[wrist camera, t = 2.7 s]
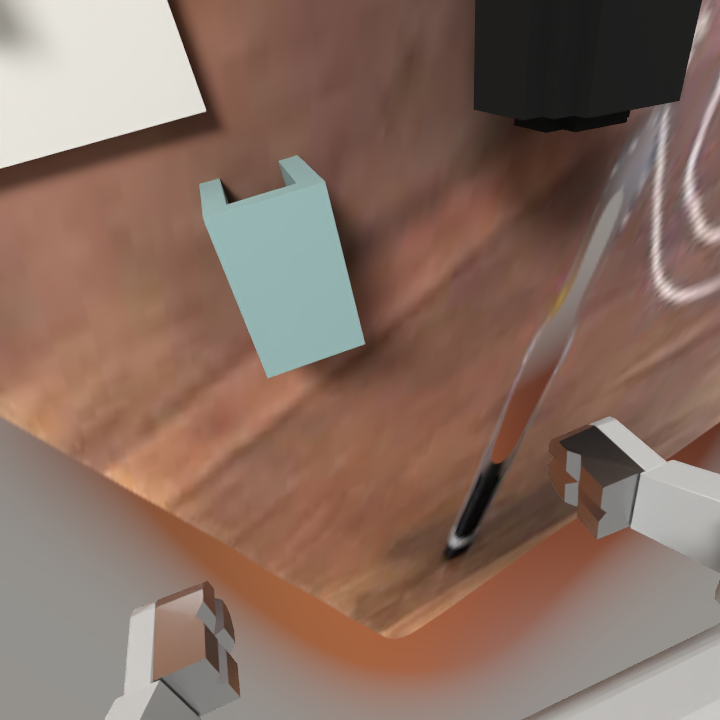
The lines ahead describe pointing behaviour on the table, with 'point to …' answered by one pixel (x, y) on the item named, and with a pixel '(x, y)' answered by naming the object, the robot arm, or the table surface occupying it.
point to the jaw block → (286, 268)
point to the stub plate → (88, 73)
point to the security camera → (579, 59)
